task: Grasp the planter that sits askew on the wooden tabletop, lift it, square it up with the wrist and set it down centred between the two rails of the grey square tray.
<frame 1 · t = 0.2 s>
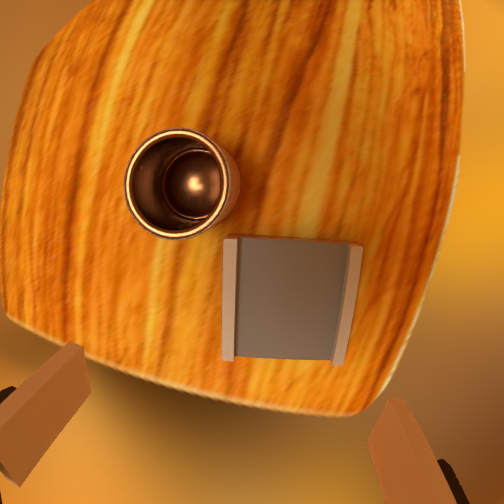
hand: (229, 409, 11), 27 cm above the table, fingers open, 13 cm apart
planter: (198, 184, 36), on the table
grey square tray: (288, 298, 38), on the table
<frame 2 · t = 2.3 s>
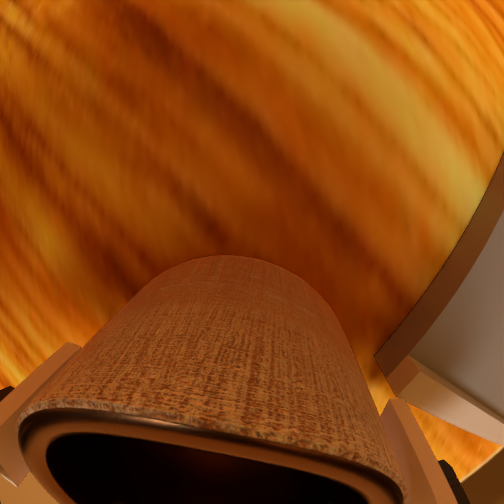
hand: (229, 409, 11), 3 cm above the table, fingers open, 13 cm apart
planter: (232, 355, 14), on the table
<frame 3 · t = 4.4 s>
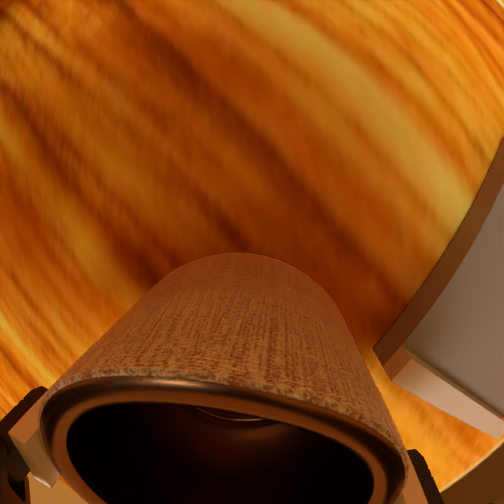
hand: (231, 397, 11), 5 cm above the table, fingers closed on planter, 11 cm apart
planter: (240, 349, 15), point 1 cm above the table, touching gripper
when the fingers open (5 cm above the table, at t = 9.9 s): planter stays where it is, resting on grey square tray.
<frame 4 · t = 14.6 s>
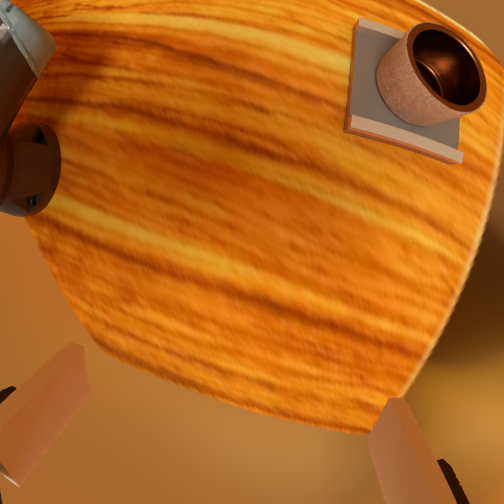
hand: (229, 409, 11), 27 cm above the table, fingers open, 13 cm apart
planter: (412, 88, 29), point 2 cm above the table, touching grey square tray
grey square tray: (405, 92, 31), on the table
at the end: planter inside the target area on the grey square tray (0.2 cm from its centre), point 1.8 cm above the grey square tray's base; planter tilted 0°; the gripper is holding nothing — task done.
